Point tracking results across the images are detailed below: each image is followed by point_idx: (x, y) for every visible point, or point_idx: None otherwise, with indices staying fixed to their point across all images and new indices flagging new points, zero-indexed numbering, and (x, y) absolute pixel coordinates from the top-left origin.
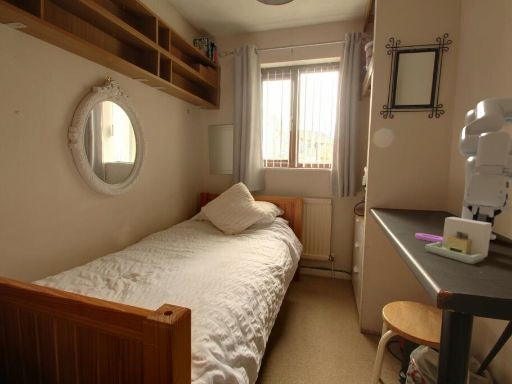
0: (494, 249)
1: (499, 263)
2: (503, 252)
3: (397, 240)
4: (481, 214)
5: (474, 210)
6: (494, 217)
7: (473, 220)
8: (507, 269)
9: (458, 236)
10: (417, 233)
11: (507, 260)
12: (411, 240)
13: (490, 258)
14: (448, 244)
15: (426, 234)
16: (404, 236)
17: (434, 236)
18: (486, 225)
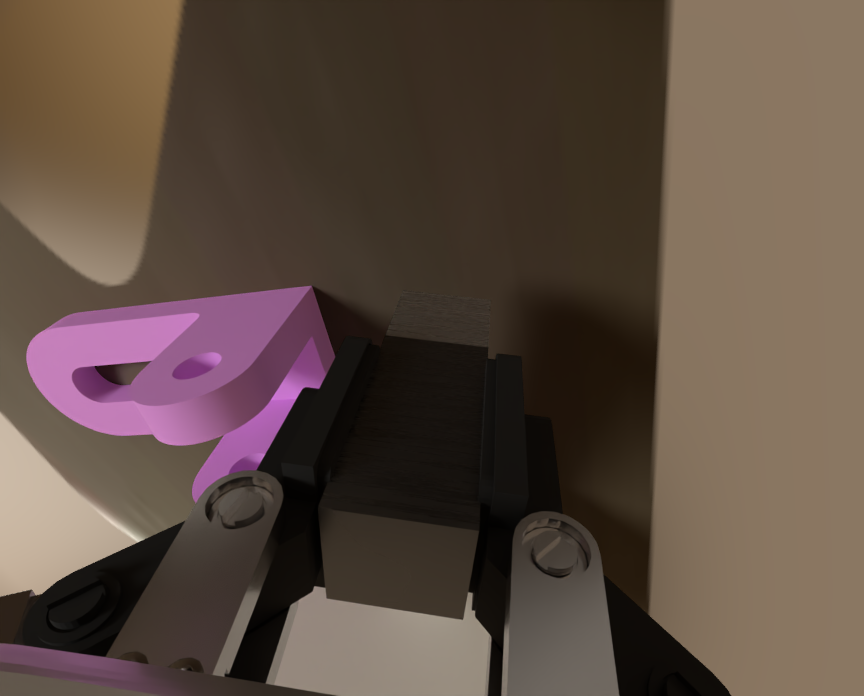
0: (559, 210)
1: (616, 552)
2: (631, 259)
3: (135, 538)
4: (382, 606)
5: (249, 650)
6: (563, 530)
7: None
8: (649, 606)
9: None
10: (38, 375)
11: (654, 470)
12: (148, 484)
13: (569, 503)
14: None
15: (75, 345)
16: (49, 427)
17: (144, 358)
18: None
